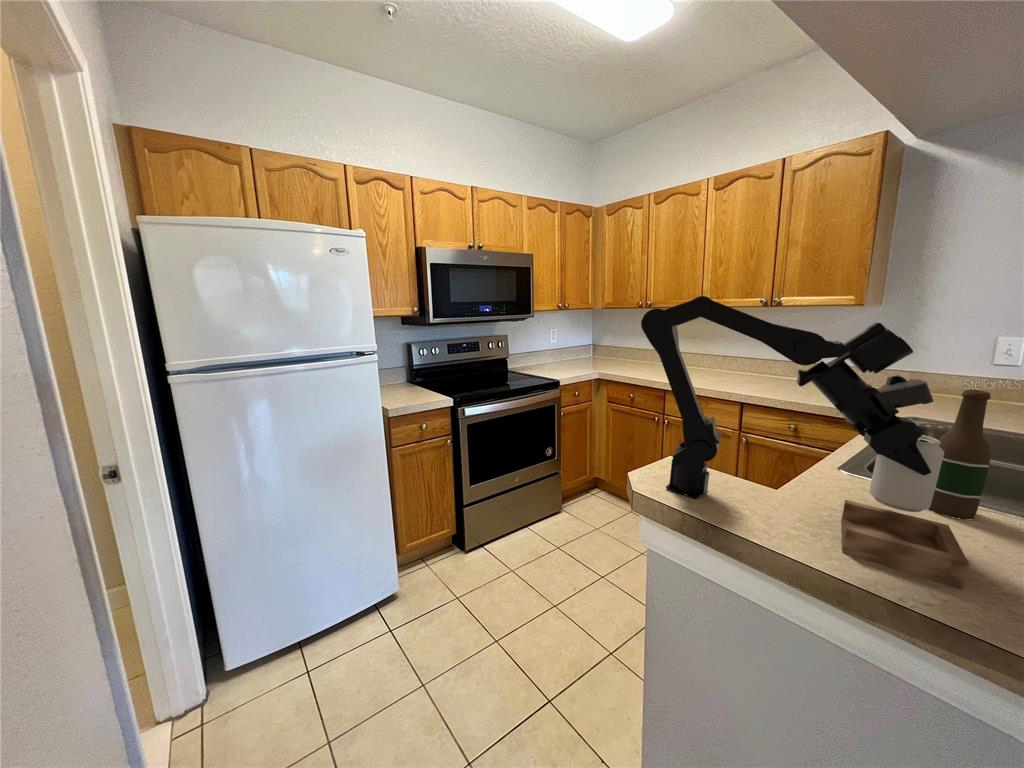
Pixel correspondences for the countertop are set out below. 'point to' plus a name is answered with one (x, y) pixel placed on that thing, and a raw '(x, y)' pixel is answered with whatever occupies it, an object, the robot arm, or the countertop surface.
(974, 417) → the beer bottle
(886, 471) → the can
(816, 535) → the countertop surface
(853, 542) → the brown wooden square tray
